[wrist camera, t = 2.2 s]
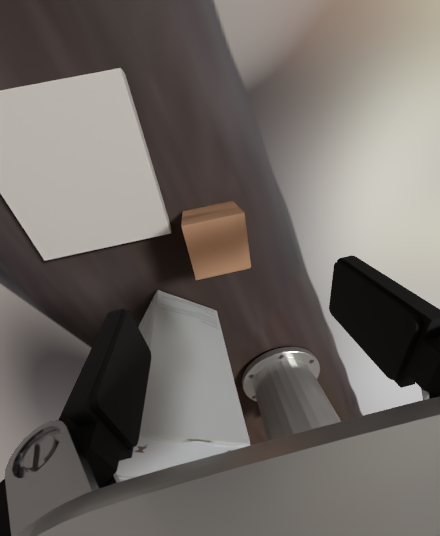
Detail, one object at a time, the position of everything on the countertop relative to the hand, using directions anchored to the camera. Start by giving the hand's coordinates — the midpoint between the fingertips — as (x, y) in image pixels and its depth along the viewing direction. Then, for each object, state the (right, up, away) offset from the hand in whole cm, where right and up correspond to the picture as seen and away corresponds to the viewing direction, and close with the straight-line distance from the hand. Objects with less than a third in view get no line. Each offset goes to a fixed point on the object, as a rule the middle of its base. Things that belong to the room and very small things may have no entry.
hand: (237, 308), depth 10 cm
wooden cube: (-2, +6, +12) cm, 14 cm away
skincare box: (-6, -4, +17) cm, 18 cm away
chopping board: (-13, +10, +8) cm, 18 cm away
